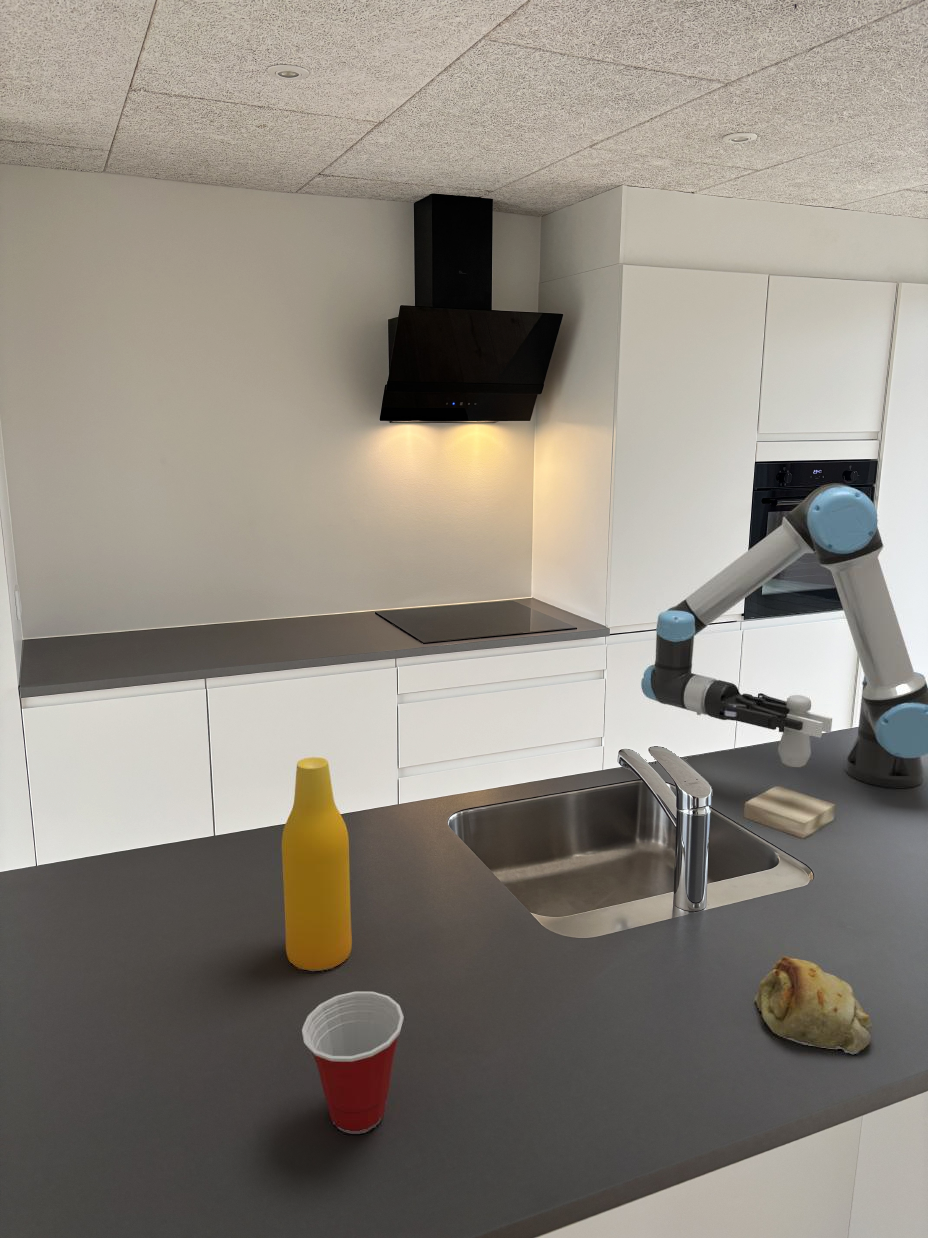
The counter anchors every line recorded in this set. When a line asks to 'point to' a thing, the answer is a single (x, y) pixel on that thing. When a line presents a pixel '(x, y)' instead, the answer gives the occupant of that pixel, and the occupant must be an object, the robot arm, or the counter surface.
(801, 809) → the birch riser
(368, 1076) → the plastic cup
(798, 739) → the salt shaker
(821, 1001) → the pastry
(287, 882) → the beer bottle
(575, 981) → the counter surface
